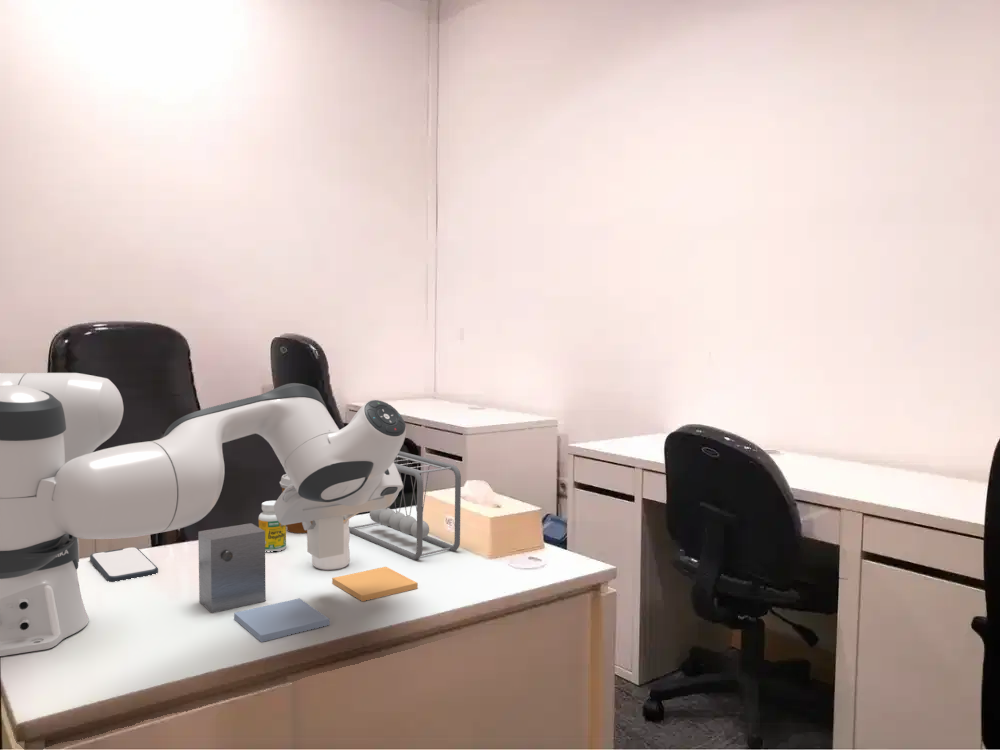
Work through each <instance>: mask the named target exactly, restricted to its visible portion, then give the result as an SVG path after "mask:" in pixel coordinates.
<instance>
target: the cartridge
mask: <svg viewBox="0 0 1000 750" xmlns="http://www.w3.org/2000/svg"><path fill="white" fill-rule="evenodd" d="M314 521H315V523H316V525H315V527H314V529H310V530H307V533H306V534H307V535H306V536H307V537H306V540H307V541H306V543H307V544H306V545H307V546H306V548H307V553H308V554H310V555H311V556H312V555H313V556H315V557H317V558H318V559H320V558H326V557H331V556H336V555H341V554H344V515H343V516H337V517H331V518H325V519H319V520H314Z"/></svg>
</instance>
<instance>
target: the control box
mask: <svg viewBox="0 0 1000 750" xmlns="http://www.w3.org/2000/svg"><path fill="white" fill-rule="evenodd" d="M197 532H198V534H197V535H198V539H197V540H198V591H199V592H198V598H199V603H200V604H201V605H202V606H203V607H205V608H206V609H207V610H208V611H209V612H210V613H212V614H213V613H218V612H223V611H228V610H232V609H236V608H241V607H245V606H250V605H255V604H259V603H264V602H266V599H267V597H266V595H267V594H266V552H265V531H264V530H262V529H261V528H259V526H257V525H256V524H253V523H245V524H239V525H231V526H225V527H218V528H212V529H206V530H200V531H197Z"/></svg>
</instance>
